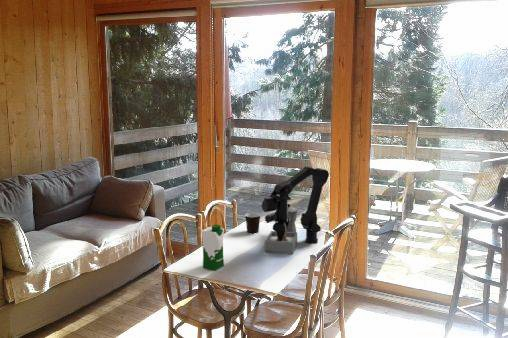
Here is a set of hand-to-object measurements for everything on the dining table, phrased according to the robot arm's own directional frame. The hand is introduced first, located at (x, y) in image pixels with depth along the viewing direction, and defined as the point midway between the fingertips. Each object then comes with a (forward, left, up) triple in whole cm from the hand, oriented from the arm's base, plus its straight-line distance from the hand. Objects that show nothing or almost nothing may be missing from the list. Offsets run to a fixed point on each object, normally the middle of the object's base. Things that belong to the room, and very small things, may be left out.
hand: (281, 238), depth 244 cm
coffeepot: (-21, 0, -5) cm, 22 cm away
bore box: (0, 0, -5) cm, 5 cm away
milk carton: (+31, -27, -5) cm, 41 cm away
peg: (0, 0, -4) cm, 4 cm away
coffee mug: (-21, -20, -5) cm, 29 cm away
